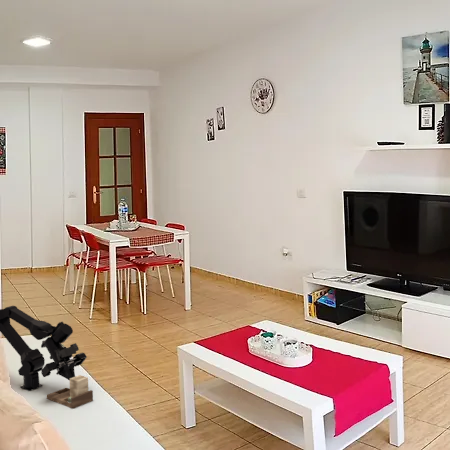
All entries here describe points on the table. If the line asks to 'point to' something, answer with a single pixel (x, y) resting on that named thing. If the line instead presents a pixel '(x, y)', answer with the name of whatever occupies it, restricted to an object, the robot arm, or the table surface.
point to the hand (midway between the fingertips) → (74, 382)
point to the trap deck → (64, 398)
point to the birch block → (78, 385)
